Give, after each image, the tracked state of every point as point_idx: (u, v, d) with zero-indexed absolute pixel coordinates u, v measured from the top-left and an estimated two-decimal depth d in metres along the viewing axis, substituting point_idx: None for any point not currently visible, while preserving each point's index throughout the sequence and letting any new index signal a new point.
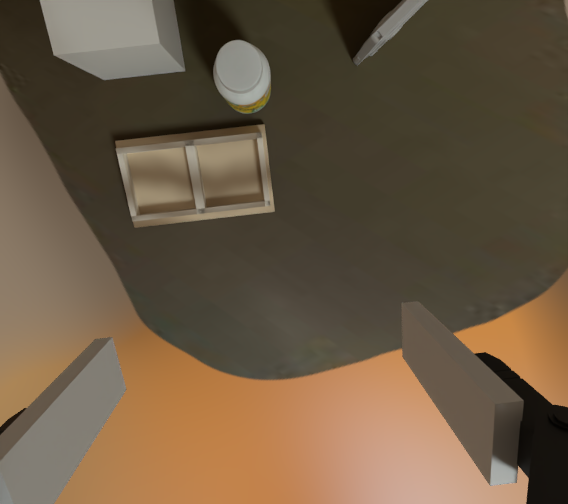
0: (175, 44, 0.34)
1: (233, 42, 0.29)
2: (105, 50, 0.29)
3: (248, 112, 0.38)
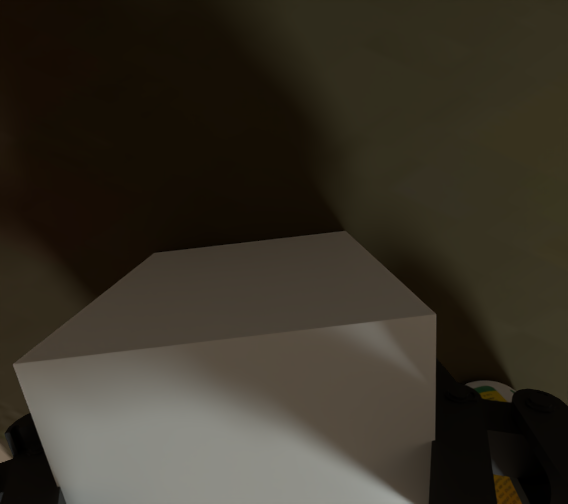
0: None
1: None
2: None
3: None
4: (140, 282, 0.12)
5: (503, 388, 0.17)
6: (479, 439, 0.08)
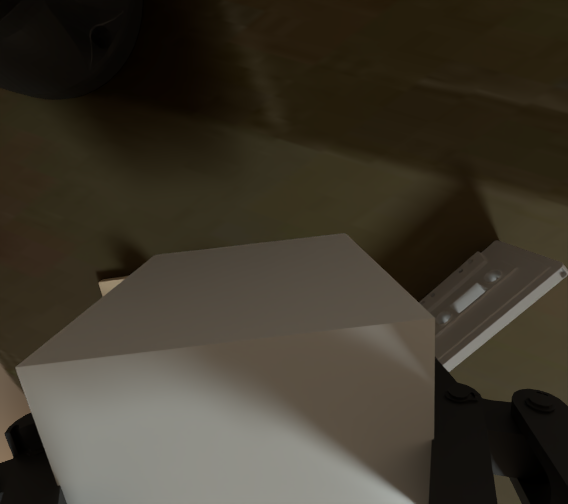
0: None
1: None
2: None
3: None
4: (141, 284, 0.12)
5: None
6: (479, 439, 0.08)
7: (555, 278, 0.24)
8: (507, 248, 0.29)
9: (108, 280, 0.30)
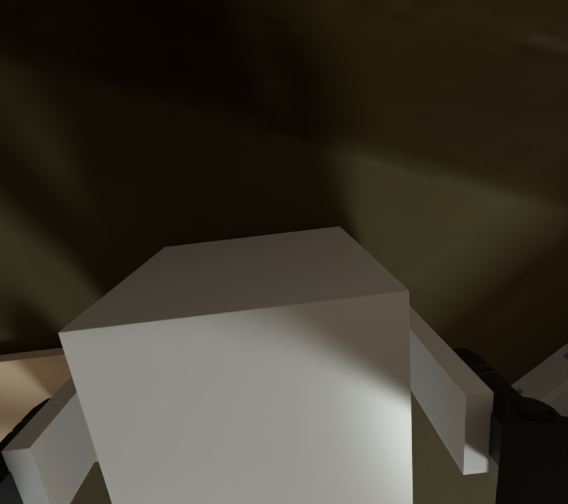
0: None
1: None
2: None
3: None
4: (156, 271, 0.13)
5: None
6: (557, 462, 0.07)
7: None
8: None
9: None
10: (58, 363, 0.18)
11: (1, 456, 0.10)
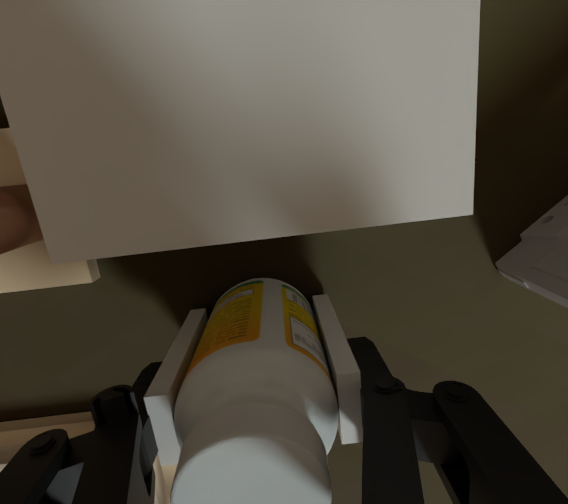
0: None
1: (233, 444, 0.08)
2: None
3: None
4: None
5: (274, 282, 0.16)
6: (404, 425, 0.09)
7: None
8: None
9: None
10: None
11: None
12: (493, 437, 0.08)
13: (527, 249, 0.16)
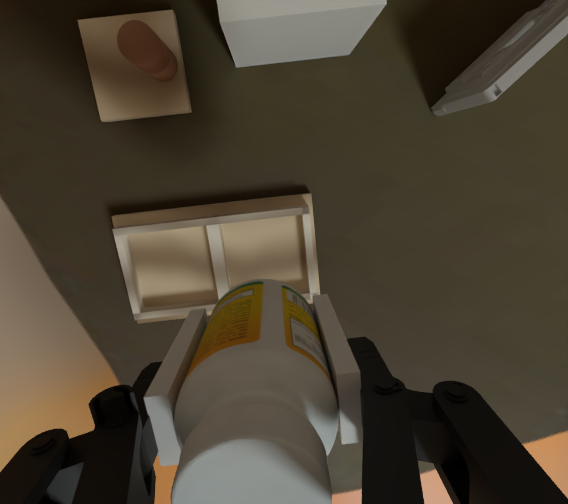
0: None
1: (233, 445, 0.08)
2: (298, 15, 0.18)
3: None
4: None
5: (274, 283, 0.16)
6: (404, 425, 0.09)
7: None
8: None
9: None
10: (140, 20, 0.25)
11: None
12: (493, 437, 0.08)
13: (447, 94, 0.27)
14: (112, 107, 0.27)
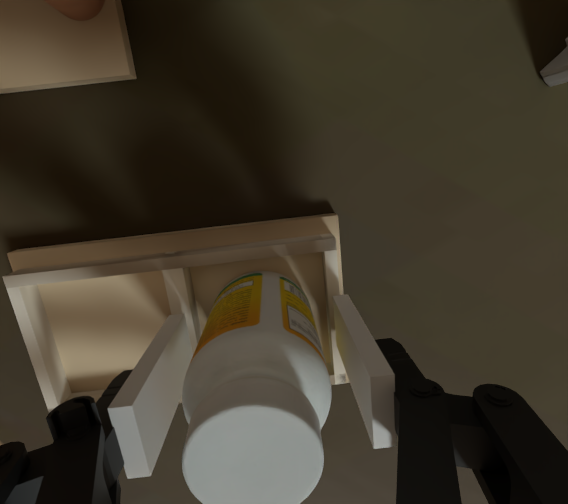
0: None
1: (237, 412, 0.09)
2: None
3: None
4: None
5: (272, 275, 0.17)
6: (442, 431, 0.08)
7: None
8: None
9: None
10: None
11: (100, 415, 0.11)
12: (538, 444, 0.08)
13: None
14: None
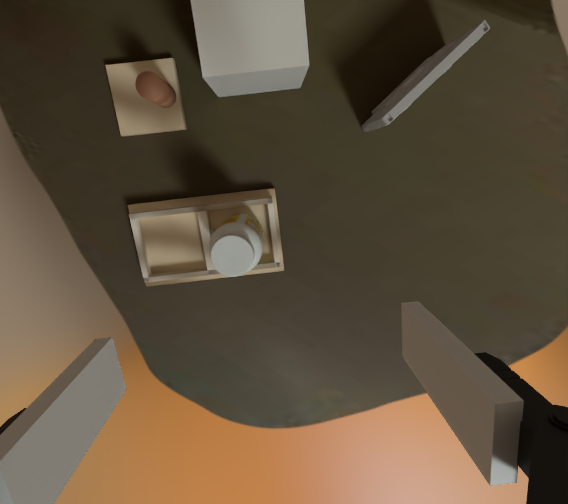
0: None
1: (227, 237, 0.31)
2: (253, 72, 0.29)
3: None
4: None
5: (245, 214, 0.39)
6: None
7: (478, 31, 0.30)
8: None
9: None
10: (150, 65, 0.35)
11: None
12: None
13: (372, 116, 0.38)
14: (129, 126, 0.37)
